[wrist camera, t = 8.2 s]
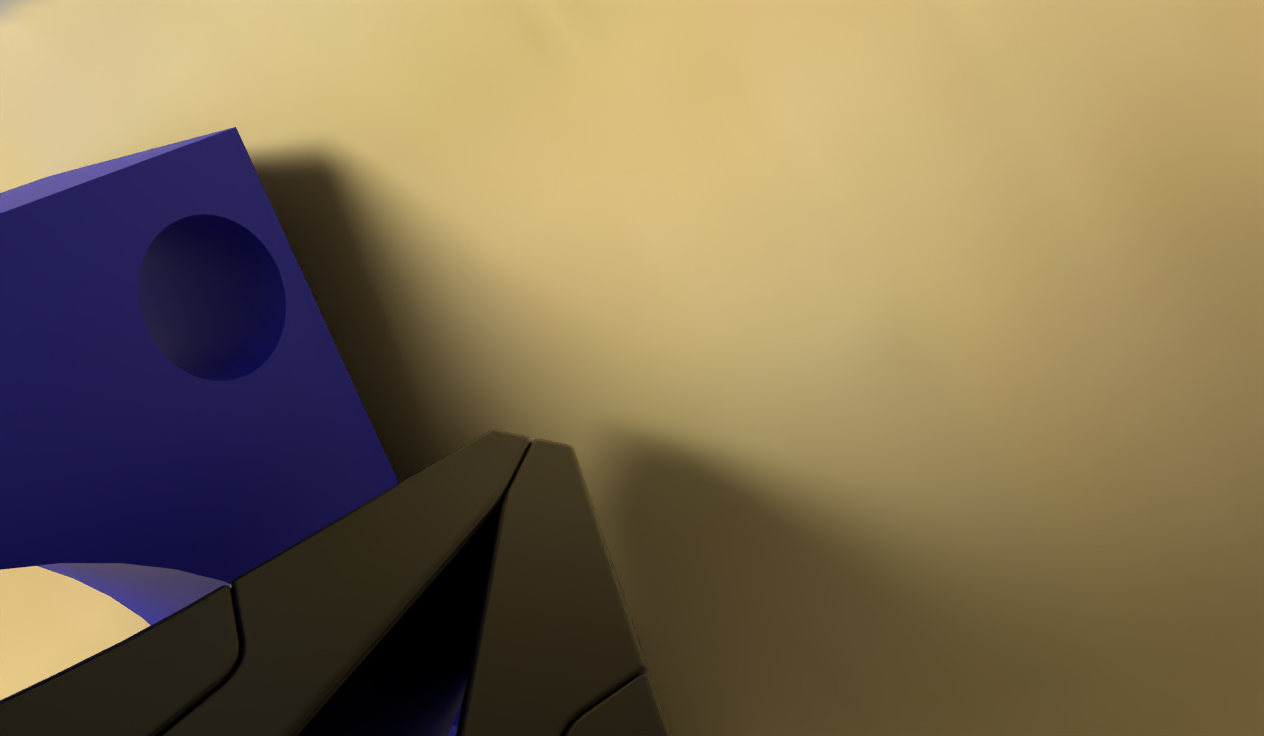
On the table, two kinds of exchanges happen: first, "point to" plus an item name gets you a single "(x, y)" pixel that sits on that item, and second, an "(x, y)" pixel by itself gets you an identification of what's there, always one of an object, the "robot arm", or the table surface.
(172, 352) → the blue notched block
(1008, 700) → the table surface
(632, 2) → the table surface
